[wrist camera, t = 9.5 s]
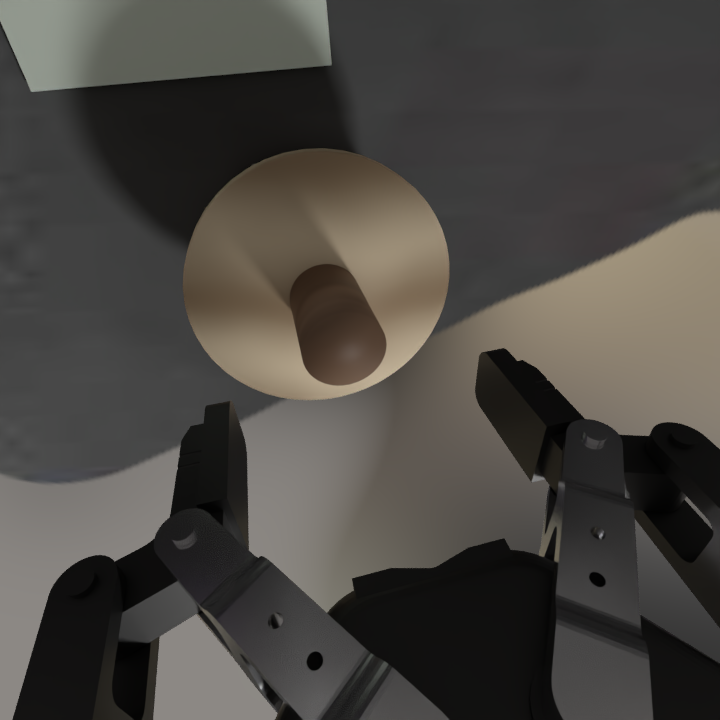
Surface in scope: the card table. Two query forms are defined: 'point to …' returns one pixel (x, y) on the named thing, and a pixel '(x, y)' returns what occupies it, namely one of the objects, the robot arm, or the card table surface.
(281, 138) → the card table surface
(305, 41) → the mat
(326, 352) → the lid
